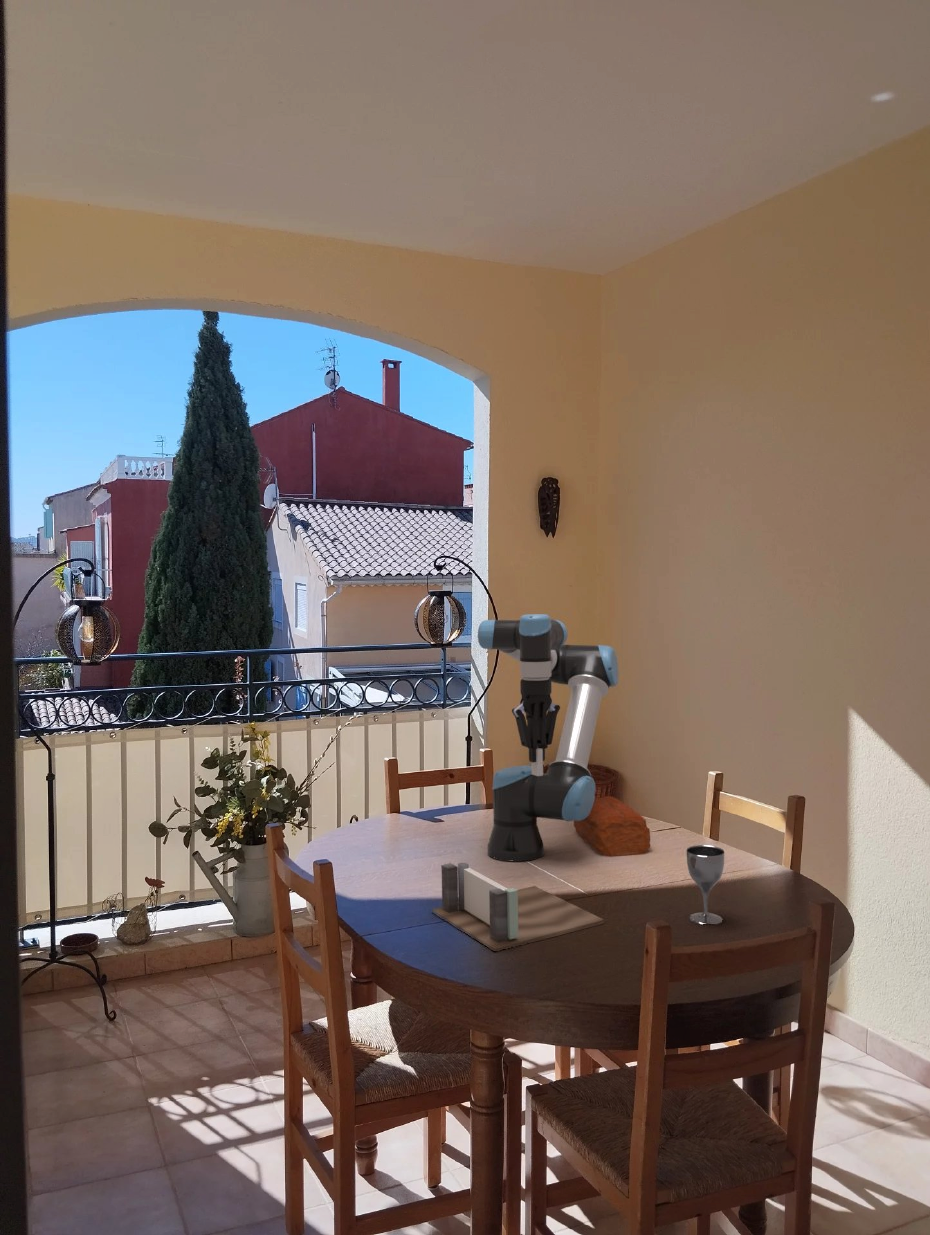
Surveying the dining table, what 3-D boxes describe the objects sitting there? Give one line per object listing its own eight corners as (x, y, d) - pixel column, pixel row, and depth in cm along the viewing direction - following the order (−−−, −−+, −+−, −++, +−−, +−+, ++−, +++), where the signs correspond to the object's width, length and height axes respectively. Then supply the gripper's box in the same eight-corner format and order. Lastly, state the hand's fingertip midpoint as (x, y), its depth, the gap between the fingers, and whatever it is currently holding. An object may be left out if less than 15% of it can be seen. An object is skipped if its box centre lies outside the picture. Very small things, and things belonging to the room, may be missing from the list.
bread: (621, 827, 280) (621, 792, 279) (654, 854, 253) (654, 815, 253) (570, 831, 277) (570, 795, 276) (598, 858, 251) (598, 818, 250)
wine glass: (725, 914, 209) (725, 846, 208) (723, 927, 201) (723, 857, 201) (688, 910, 212) (688, 844, 211) (685, 923, 204) (684, 854, 203)
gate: (456, 908, 213) (455, 863, 212) (466, 906, 214) (465, 861, 214) (509, 941, 194) (508, 892, 193) (519, 938, 195) (518, 890, 194)
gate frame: (432, 913, 213) (431, 865, 212) (534, 889, 227) (534, 844, 227) (494, 952, 191) (493, 899, 190) (604, 923, 205) (603, 874, 204)
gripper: (548, 674, 236) (549, 768, 238) (504, 678, 230) (506, 775, 231) (566, 677, 230) (568, 774, 231) (522, 681, 223) (523, 781, 225)
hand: (537, 774), depth 231 cm, fingers closed
